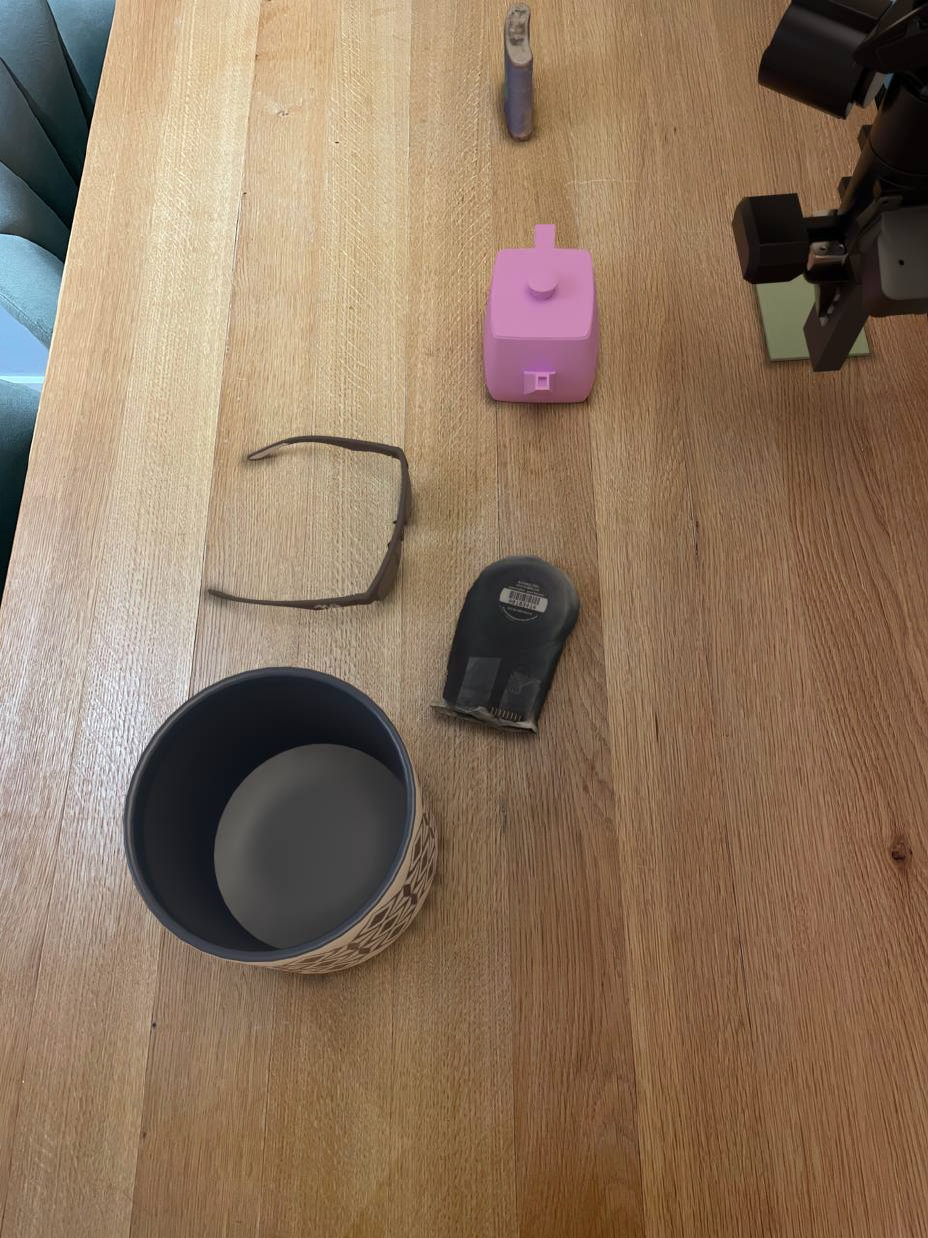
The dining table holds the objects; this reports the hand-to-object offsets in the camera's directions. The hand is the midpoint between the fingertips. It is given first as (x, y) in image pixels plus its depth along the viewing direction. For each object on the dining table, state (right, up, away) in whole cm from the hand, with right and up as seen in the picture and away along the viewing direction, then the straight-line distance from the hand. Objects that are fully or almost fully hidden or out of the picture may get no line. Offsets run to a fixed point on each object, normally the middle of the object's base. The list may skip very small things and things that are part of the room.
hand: (837, 311), depth 73 cm
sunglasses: (-42, -17, +10) cm, 46 cm away
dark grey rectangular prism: (0, -2, +4) cm, 5 cm away
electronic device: (-25, -26, +5) cm, 36 cm away
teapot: (-22, +1, +16) cm, 27 cm away
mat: (+4, +8, +17) cm, 19 cm away
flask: (-23, +31, +29) cm, 48 cm away
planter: (-40, -42, -1) cm, 58 cm away
